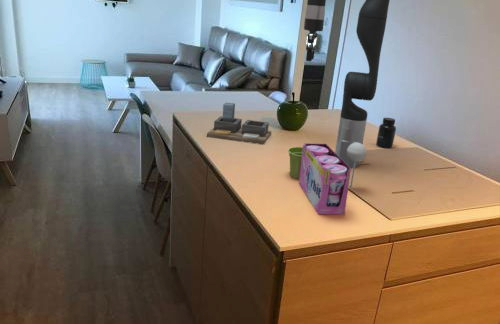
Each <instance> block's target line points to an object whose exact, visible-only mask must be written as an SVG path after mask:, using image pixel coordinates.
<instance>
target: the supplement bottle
mask: <svg viewBox="0 0 500 324" xmlns="http://www.w3.org/2000/svg"><path fill="white" fill-rule="evenodd" d="M395 124H396V119H395V118H392V117H383V118H382V123H381V124H380V125H379V126H378V133H377V138H376V142H375V144H376V146H377V147H378V148H382V149H392V148H393V146H394V141H395V136H396V130H397V127H396V126H395Z"/></svg>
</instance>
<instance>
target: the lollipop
mask: <svg viewBox="0 0 500 324" xmlns="http://www.w3.org/2000/svg"><path fill="white" fill-rule="evenodd" d="M347 156H348V157H349V159H350V160H352V161H354V167H353V168H352V173H351V178H350V179H351V181H350V185H349V189H352V187H353V183H354V176H355V175H354V174H355V169H356V167H355V164H356V162H358V161H360V162H361V161H363V160H364V159H365V158H366V156H367V149H366V147H365V145H364V144H363V145H362V144H361V143H353V144H351V145H350V146H349V147H348V149H347Z"/></svg>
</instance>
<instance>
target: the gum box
mask: <svg viewBox="0 0 500 324" xmlns="http://www.w3.org/2000/svg"><path fill="white" fill-rule="evenodd" d="M302 147H303V150H302V160H301V169H300V179H299V180H298V184H299V186H300V188H301V189H302V191H303V192H304V194H305V196H306V197H307V198H308V200H309V202H310V203H311V204H312V207H313V208H314V210H315V211H316V212H317V214H318V215H345V212H346V205H347V199H348V194H349V193H348V192H349V188H350V185H349V184H350V179H351V178H350V177H351V172H352V169H351V168H350V167H349V166H348V164H347V163H345V162H344V161H343V160H342V159H341V158H340V157H339V156H338V155H337V154H336V153H335V151H334V150H333V149H332V148H331V147H330V146H329V145H328V144H327V143H311V142H310V143H309V142H308V143H304V142H303V145H302Z"/></svg>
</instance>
